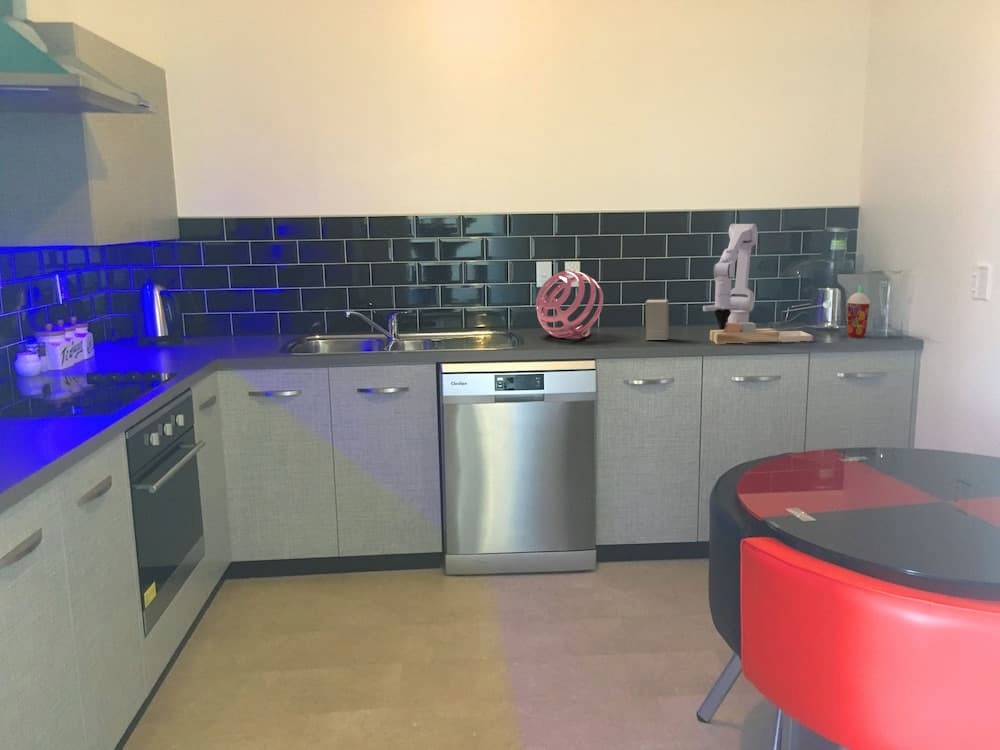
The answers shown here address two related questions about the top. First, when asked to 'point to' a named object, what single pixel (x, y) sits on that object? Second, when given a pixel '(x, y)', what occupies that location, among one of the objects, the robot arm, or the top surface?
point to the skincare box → (657, 320)
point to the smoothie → (857, 314)
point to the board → (744, 336)
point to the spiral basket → (563, 315)
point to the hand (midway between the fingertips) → (721, 329)
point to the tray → (794, 336)
